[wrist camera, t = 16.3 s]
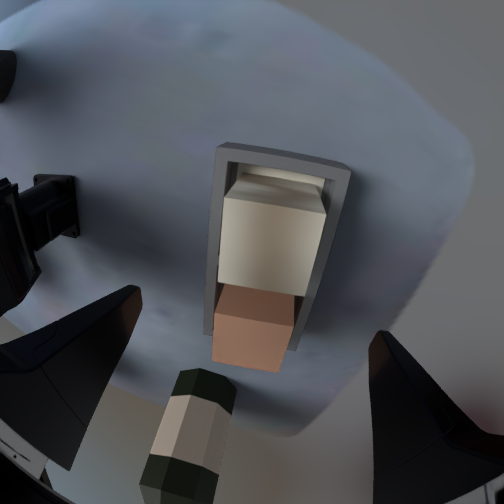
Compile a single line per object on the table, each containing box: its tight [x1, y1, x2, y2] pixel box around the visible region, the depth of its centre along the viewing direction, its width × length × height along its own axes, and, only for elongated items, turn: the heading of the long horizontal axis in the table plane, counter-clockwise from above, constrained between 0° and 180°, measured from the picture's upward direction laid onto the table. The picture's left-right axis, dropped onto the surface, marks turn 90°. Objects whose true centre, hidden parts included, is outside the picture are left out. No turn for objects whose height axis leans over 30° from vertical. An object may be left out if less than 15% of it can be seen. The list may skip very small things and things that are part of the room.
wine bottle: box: [139, 368, 237, 504], centre depth 20 cm, size 8×8×30 cm
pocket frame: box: [204, 142, 351, 351], centre depth 21 cm, size 8×16×3 cm, turn 172°
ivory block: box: [218, 172, 326, 297], centre depth 17 cm, size 5×5×6 cm
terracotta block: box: [212, 283, 294, 373], centre depth 20 cm, size 5×5×6 cm
